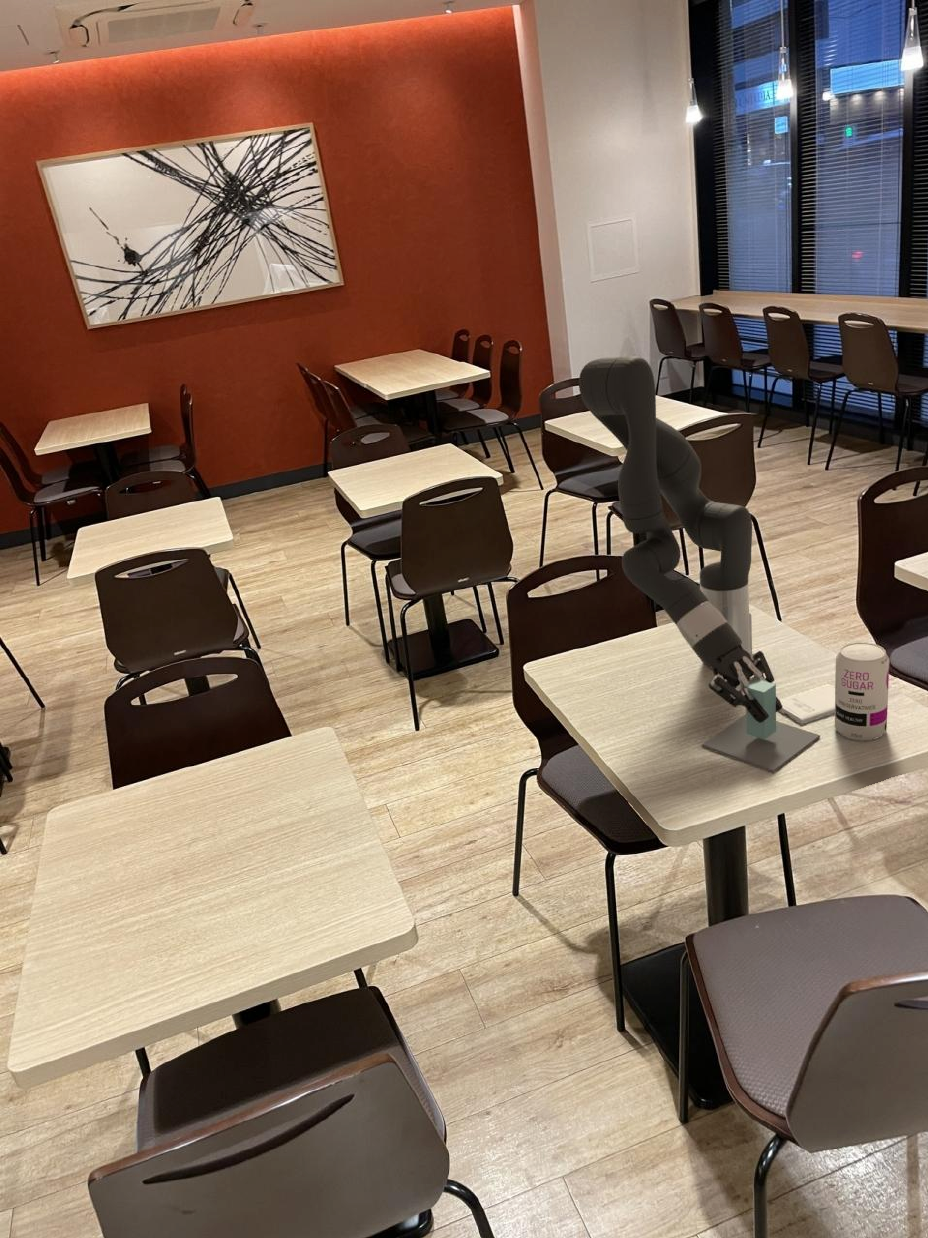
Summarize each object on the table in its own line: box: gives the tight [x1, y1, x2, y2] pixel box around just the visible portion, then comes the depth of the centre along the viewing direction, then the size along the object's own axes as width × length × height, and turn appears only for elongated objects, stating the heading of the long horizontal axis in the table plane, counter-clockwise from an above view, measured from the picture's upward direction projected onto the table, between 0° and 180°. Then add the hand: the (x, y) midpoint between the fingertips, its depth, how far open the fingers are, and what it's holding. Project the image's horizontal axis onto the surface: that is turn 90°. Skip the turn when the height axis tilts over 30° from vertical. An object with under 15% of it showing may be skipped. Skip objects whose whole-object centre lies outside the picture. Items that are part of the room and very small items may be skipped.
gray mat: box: [701, 714, 821, 774], centre depth 162 cm, size 14×14×1 cm
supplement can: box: [834, 642, 890, 742], centre depth 158 cm, size 8×8×15 cm
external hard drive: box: [778, 683, 835, 725], centre depth 171 cm, size 2×8×12 cm
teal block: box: [745, 680, 777, 740], centre depth 159 cm, size 4×4×9 cm
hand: (771, 714), depth 158 cm, fingers closed on teal block, 3 cm apart
